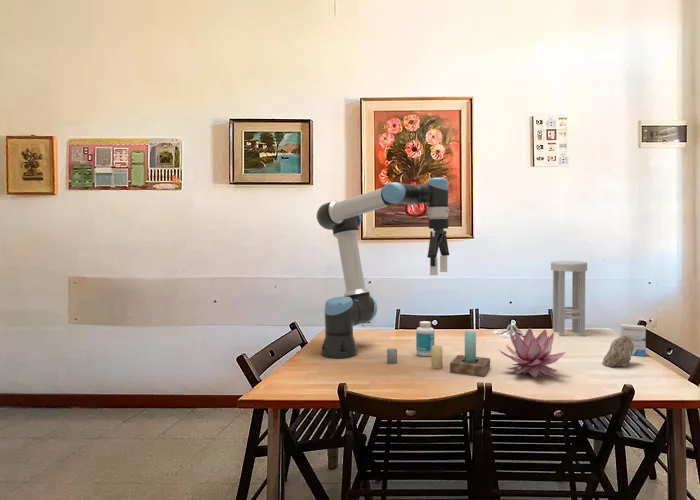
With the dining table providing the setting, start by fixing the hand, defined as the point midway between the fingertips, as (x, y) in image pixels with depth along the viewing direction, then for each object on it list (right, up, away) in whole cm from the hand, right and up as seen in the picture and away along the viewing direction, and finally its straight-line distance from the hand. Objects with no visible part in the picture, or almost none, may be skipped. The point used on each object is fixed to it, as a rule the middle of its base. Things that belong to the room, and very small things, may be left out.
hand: (438, 273), depth 182 cm
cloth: (+45, -33, +49) cm, 75 cm away
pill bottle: (-3, -34, +14) cm, 37 cm away
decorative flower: (+30, -35, -14) cm, 48 cm away
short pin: (-18, -35, +3) cm, 39 cm away
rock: (+67, -34, -5) cm, 75 cm away
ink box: (+80, -33, +9) cm, 87 cm away
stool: (+72, -32, +48) cm, 92 cm away
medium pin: (-2, -35, -5) cm, 35 cm away
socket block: (+10, -35, -9) cm, 37 cm away
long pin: (+10, -35, -9) cm, 37 cm away
